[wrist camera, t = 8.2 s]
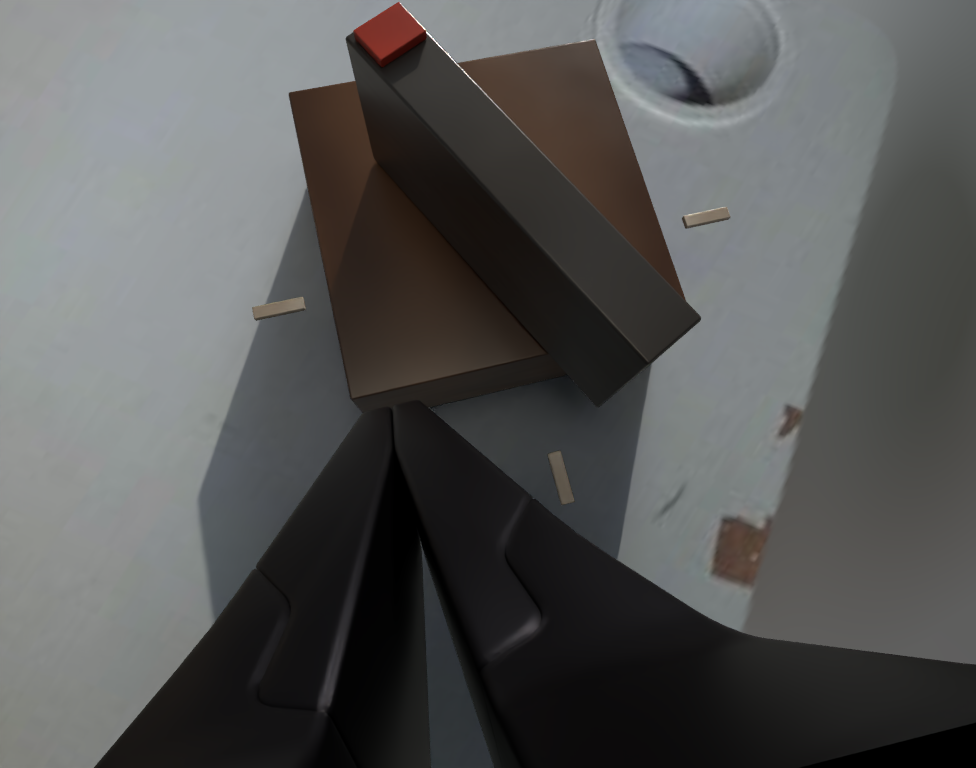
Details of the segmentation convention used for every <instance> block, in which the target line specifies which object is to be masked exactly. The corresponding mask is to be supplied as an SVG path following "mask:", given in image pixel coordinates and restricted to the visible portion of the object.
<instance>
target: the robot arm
mask: <svg viewBox="0 0 976 768" xmlns="http://www.w3.org/2000/svg"><path fill="white" fill-rule="evenodd" d="M420 540H421V543H422V547H423V550H424V554H425V557H426V561H427V564H428V567H429V570H430V573H431V576H432V579H433V582H434V585H435V588H436V591H437V594H438V597H439V600H440V603H441V606H442V610H443V613H444V616H445V619H446V622H447V625H448V628H449V631H450V634H451V637H452V640H453V643H454V646H455V649H456V652H457V655H458V658H459V661H460V664H461V667H462V670H463V674H464V677H465V680H466V683H467V686H468V689H469V692H470V695H471V698H472V701H473V704H474V707H475V710H476V713H477V716H478V719H479V722H480V725H481V728H482V731H483V734H484V738H485V741H486V744H487V747H488V750H489V753H490V756H491V759H492V762H493V765H494V768H976V665H974V664H963V663H955V662H948V661H940V660H932V659H923V658H915V657H907V656H900V655H893V654H885V653H877V652H869V651H860V650H853V649H845V648H837V647H829V646H822V645H814V644H805V643H798V642H790V641H783V640H774V639H766V638H761V637H755V636H752V635H748V634H745V633H742V632H739V631H737V630H734V629H731V628H729V627H726V626H724V625H722V624H720V623H718V622H716V621H714V620H712V619H710V618H708V617H706V616H705V615H703V614H701V613H699V612H698V611H696V610H694V609H693V608H691V607H690V606H688V605H686V604H685V603H683V602H682V601H680V600H679V599H677V598H676V597H674V596H672V595H671V594H669V593H668V592H666V591H665V590H663V589H661V588H660V587H658V586H657V585H655V584H654V583H652V582H651V581H649V580H647V579H646V578H644V577H643V576H641V575H640V574H638V573H637V572H635V571H633V570H632V569H630V568H629V567H627V566H626V565H624V564H622V563H621V562H619V561H618V560H616V559H615V558H613V557H612V556H610V555H608V554H607V553H606V552H604V551H603V550H601V549H600V548H598V547H597V546H595V545H594V544H592V543H591V542H589V541H588V540H586V539H585V538H583V537H582V536H581V535H579V534H578V533H576V532H575V531H574V530H572V529H571V528H570V527H569V526H567V525H566V524H565V523H564V522H562V521H561V520H560V519H558V518H557V517H556V516H555V515H553V514H552V513H551V512H550V511H549V510H548V509H546V508H545V507H544V506H543V505H542V504H541V503H539V502H538V501H537V500H536V499H533V498H532V496H531V495H530V494H529V493H527V492H526V491H525V490H524V489H523V488H521V487H520V486H519V485H518V484H517V483H516V482H514V481H513V480H512V479H511V478H510V477H509V476H507V475H506V474H505V473H504V472H503V471H502V470H500V469H499V468H498V467H497V466H496V465H495V464H493V463H492V462H491V461H490V460H489V459H488V458H486V457H485V456H484V455H483V454H482V453H481V452H479V451H478V450H477V449H476V448H475V447H473V446H472V445H471V444H470V443H469V442H468V441H466V440H465V439H464V438H463V437H462V436H461V435H459V434H458V433H457V432H456V431H455V430H454V429H452V428H451V427H450V426H449V425H448V424H447V423H445V422H444V421H443V420H442V419H441V418H440V417H438V416H437V415H436V414H435V413H434V412H432V411H431V410H430V409H429V408H428V407H427V406H425V405H424V404H423V403H422V402H421V401H419V400H412V401H408V402H404V403H400V404H396V405H394V406H393V408H392V409H391V408H390V407H382V408H378V409H374V410H369V411H366V412H364V413H363V414H362V415H361V416H360V418H359V419H358V421H357V422H356V423H355V425H354V426H353V428H352V429H351V431H350V432H349V433H348V435H347V436H346V438H345V439H344V441H343V442H342V443H341V445H340V446H339V448H338V449H337V451H336V452H335V453H334V455H333V456H332V458H331V459H330V461H329V462H328V463H327V465H326V466H325V468H324V469H323V471H322V472H321V473H320V475H319V476H318V478H317V479H316V481H315V482H314V483H313V485H312V486H311V488H310V489H309V491H308V492H307V493H306V495H305V496H304V498H303V499H302V501H301V502H300V503H299V505H298V506H297V508H296V509H295V511H294V512H293V513H292V515H291V516H290V518H289V519H288V521H287V522H286V523H285V525H284V526H283V528H282V529H281V531H280V532H279V533H278V535H277V536H276V538H275V539H274V541H273V542H272V543H271V545H270V546H269V548H268V549H267V551H266V552H265V553H264V555H263V556H262V558H261V559H260V561H259V562H258V563H257V565H256V568H257V569H254V570H252V572H251V573H250V574H249V576H248V577H247V579H246V580H245V582H244V583H243V584H242V586H241V587H240V589H239V590H238V592H237V593H236V594H235V596H234V597H233V598H232V600H231V601H230V602H229V604H228V605H227V606H226V608H225V609H224V611H223V612H222V613H221V615H220V616H219V617H218V619H217V620H216V621H215V623H214V624H213V625H212V627H211V628H210V629H209V631H208V632H207V633H206V634H205V635H204V637H203V638H202V639H201V640H200V642H199V643H198V644H197V645H196V647H195V648H194V649H193V650H192V652H191V653H190V654H189V655H188V656H187V658H186V659H185V660H184V661H183V663H182V664H181V665H180V666H179V668H178V669H177V670H176V671H175V672H174V674H173V675H172V676H171V677H170V678H169V679H168V681H167V682H166V683H165V684H164V685H163V687H162V688H161V689H160V690H159V691H158V692H157V694H156V695H155V696H154V697H153V698H152V700H151V701H150V702H149V703H148V704H147V705H146V707H145V708H144V709H143V710H142V711H141V713H140V714H139V715H138V716H137V717H136V718H135V720H134V721H133V722H132V723H131V724H130V726H129V727H128V728H127V729H126V730H125V732H124V733H123V734H122V735H121V736H120V737H119V739H118V740H117V741H116V742H115V743H114V745H113V746H112V747H111V748H110V749H109V750H108V752H107V753H106V754H105V755H104V756H103V758H102V759H101V760H100V761H99V762H98V763H97V765H96V766H95V767H94V768H431V758H430V734H429V711H428V687H427V663H426V640H425V616H424V592H423V569H422V552H421V543H420Z"/></svg>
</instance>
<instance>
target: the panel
mask: <svg viewBox="0 0 976 768" xmlns="http://www.w3.org/2000/svg"><path fill="white" fill-rule="evenodd" d="M458 64H459V66H460V67H461V68H462V69H463V70H464V71H465V72H466V73H467V74H468V75H469V76H470V77H471V78H472V79H473V80H474V81H475V82H476V83H477V84H478V85H479V86H480V87H481V88H482V89H483V91H484V92H485V93H486V94H487V95H488V96H489V97H490V98H491V99H492V100H493V101H494V102H495V103H496V104H497V105H498V106H499V107H500V108H501V109H502V110H503V111H504V112H505V113H506V114H507V116H508V117H509V118H510V119H511V120H512V121H513V122H514V123H515V124H516V125H517V126H518V127H519V128H520V129H521V130H522V131H523V132H524V133H525V134H526V135H527V136H528V137H529V138H530V139H531V141H532V142H533V143H534V144H535V145H536V146H537V147H538V148H539V149H540V150H541V151H542V152H543V153H544V154H545V155H546V156H547V157H548V158H549V159H550V160H551V161H552V162H553V163H554V164H555V166H556V167H557V168H558V169H559V170H560V171H561V172H562V173H563V174H564V175H565V176H566V177H567V178H568V179H569V180H570V181H571V182H572V183H573V184H574V185H575V186H576V187H577V188H578V189H579V190H580V192H581V193H582V194H583V195H584V196H585V197H586V198H587V199H588V200H589V201H590V202H591V203H592V204H593V205H594V206H595V207H596V208H597V209H598V210H599V211H600V212H601V213H602V214H603V215H604V217H605V218H606V219H607V220H608V221H609V222H610V223H611V224H612V225H613V226H614V227H615V228H616V229H617V230H618V231H619V232H620V233H621V234H622V235H623V236H624V237H625V238H626V239H627V240H628V242H629V243H630V244H631V245H632V246H633V247H634V248H635V249H636V250H637V251H638V252H639V253H640V254H641V255H642V256H643V257H644V258H645V259H646V260H647V261H648V262H649V263H650V264H651V265H652V267H653V268H654V269H655V270H656V271H657V272H658V273H659V274H660V275H661V276H662V277H663V278H664V279H665V280H666V281H667V282H668V283H669V284H670V285H671V286H672V287H673V288H674V289H675V290H676V291H677V293H678V294H679V295H680V296H681V297H682V298H683V299H684V300H685V297H684V294H683V291H682V288H681V285H680V282H679V279H678V277H677V274H676V271H675V268H674V265H673V262H672V259H671V256H670V254H669V251H668V248H667V245H666V242H665V239H664V236H663V233H662V231H661V228H660V225H659V222H658V219H657V216H656V213H655V210H654V208H653V205H652V202H651V199H650V196H649V193H648V190H647V187H646V185H645V182H644V179H643V176H642V173H641V170H640V167H639V164H638V161H637V159H636V156H635V153H634V150H633V147H632V144H631V141H630V138H629V136H628V133H627V130H626V127H625V124H624V121H623V118H622V115H621V113H620V110H619V107H618V104H617V101H616V98H615V95H614V92H613V90H612V87H611V84H610V81H609V78H608V75H607V72H606V69H605V67H604V64H603V61H602V58H601V55H600V52H599V49H598V46H597V44H596V41H595V39H592V40H586V41H580V42H574V43H569V44H563V45H557V46H552V47H546V48H540V49H535V50H529V51H523V52H517V53H512V54H506V55H500V56H495V57H489V58H483V59H478V60H472V61H466V62H460V63H458ZM289 99H290V104H291V109H292V114H293V119H294V124H295V129H296V133H297V138H298V143H299V148H300V153H301V158H302V163H303V168H304V173H305V178H306V183H307V188H308V192H309V197H310V202H311V207H312V212H313V217H314V222H315V227H316V232H317V237H318V242H319V246H320V251H321V256H322V261H323V266H324V271H325V276H326V281H327V286H328V291H329V296H330V301H331V305H332V310H333V315H334V320H335V325H336V330H337V335H338V340H339V345H340V350H341V355H342V360H343V364H344V369H345V374H346V379H347V384H348V389H349V394H350V398H351V400H352V401H353V402H354V403H355V404H356V406H357V407H358V408H359V409H360V410H361V411H362V412H363V413H364V412H366V411H369V410H374V409H378V408H382V407H390V408H391V409H392V408H393V406H394V405H396V404H400V403H404V402H408V401H412V400H419V401H421V402H422V403H423V404H424V405H425V406H427V407H428V408H429V407H434V406H438V405H442V404H446V403H450V402H455V401H459V400H463V399H467V398H472V397H476V396H480V395H484V394H489V393H493V392H497V391H501V390H506V389H510V388H514V387H518V386H522V385H527V384H531V383H535V382H539V381H544V380H548V379H552V378H556V377H561V376H565V375H567V374H566V373H565V371H564V370H563V369H562V368H561V367H560V366H559V365H558V364H557V362H556V361H555V360H554V359H553V358H552V357H551V356H550V355H549V354H548V352H547V351H546V350H545V349H544V348H543V347H542V346H541V345H540V343H539V342H538V341H537V340H536V339H535V338H534V337H533V336H532V335H531V333H530V332H529V331H528V330H527V329H526V328H525V327H524V326H523V325H522V323H521V322H520V321H519V320H518V319H517V318H516V317H515V316H514V314H513V313H512V312H511V311H510V310H509V309H508V308H507V307H506V306H505V304H504V303H503V302H502V301H501V300H500V299H499V298H498V297H497V295H496V294H495V293H494V292H493V291H492V290H491V289H490V288H489V287H488V285H487V284H486V283H485V282H484V281H483V280H482V279H481V278H480V276H479V275H478V274H477V273H476V272H475V271H474V270H473V269H472V268H471V266H470V265H469V264H468V263H467V262H466V261H465V260H464V259H463V258H462V256H461V255H460V254H459V253H458V252H457V251H456V250H455V249H454V247H453V246H452V245H451V244H450V243H449V242H448V241H447V240H446V239H445V237H444V236H443V235H442V234H441V233H440V232H439V231H438V230H437V228H436V227H435V226H434V225H433V224H432V223H431V222H430V221H429V220H428V218H427V217H426V216H425V215H424V214H423V213H422V212H421V211H420V210H419V208H418V207H417V206H416V205H415V204H414V203H413V202H412V201H411V199H410V198H409V197H408V196H407V195H406V194H405V193H404V192H403V191H402V189H401V188H400V187H399V186H398V185H397V184H396V183H395V182H394V180H393V179H392V178H391V177H390V176H389V175H388V174H387V173H386V172H385V170H384V169H383V168H382V167H381V166H380V165H379V164H378V163H377V161H376V160H375V159H374V157H373V153H372V149H371V145H370V141H369V136H368V132H367V128H366V124H365V119H364V115H363V111H362V107H361V102H360V98H359V94H358V90H357V85H356V81H352V82H347V83H341V84H335V85H329V86H324V87H318V88H312V89H307V90H301V91H295V92H290V93H289ZM729 218H730V214H729V212H728V209H727V207H724V208H719V209H714V210H710V211H705V212H700V213H695V214H691V215H686V216H683V218H682V220H683V223H684V226H685V228H686V229H687V228H691V227H696V226H701V225H705V224H710V223H715V222H719V221H724V220H728V219H729ZM685 301H686V300H685ZM252 309H253V315H254V319H255V320H256V321H257V320H262V319H266V318H271V317H276V316H280V315H285V314H290V313H294V312H299V311H304V310H306V307H305V302H304V298H303V297H299V298H294V299H289V300H284V301H280V302H275V303H270V304H265V305H261V306H256V307H252ZM547 456H548V459H549V463H550V467H551V470H552V474H553V478H554V481H555V485H556V489H557V492H558V496H559V499H560V503H561V505H565V504H569V503H573V502H575V500H574V497H573V493H572V489H571V486H570V482H569V479H568V475H567V472H566V468H565V464H564V461H563V457H562V454H561V451H556V452H552V453H548V454H547Z"/></svg>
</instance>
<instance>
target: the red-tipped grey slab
mask: <svg viewBox="0 0 976 768" xmlns="http://www.w3.org/2000/svg"><path fill="white" fill-rule="evenodd" d="M346 43H347V47H348V51H349V56H350V60H351V64H352V68H353V73H354V77H355V81H356V85H357V90H358V94H359V98H360V102H361V107H362V111H363V115H364V119H365V124H366V128H367V132H368V136H369V141H370V145H371V149H372V153H373V157H374V159H375V160H376V161H377V163H378V164H379V165H380V166H381V167H382V168H383V169H384V170H385V172H386V173H387V174H388V175H389V176H390V177H391V178H392V179H393V180H394V182H395V183H396V184H397V185H398V186H399V187H400V188H401V189H402V191H403V192H404V193H405V194H406V195H407V196H408V197H409V198H410V199H411V201H412V202H413V203H414V204H415V205H416V206H417V207H418V208H419V210H420V211H421V212H422V213H423V214H424V215H425V216H426V217H427V218H428V220H429V221H430V222H431V223H432V224H433V225H434V226H435V227H436V228H437V230H438V231H439V232H440V233H441V234H442V235H443V236H444V237H445V239H446V240H447V241H448V242H449V243H450V244H451V245H452V246H453V247H454V249H455V250H456V251H457V252H458V253H459V254H460V255H461V256H462V258H463V259H464V260H465V261H466V262H467V263H468V264H469V265H470V266H471V268H472V269H473V270H474V271H475V272H476V273H477V274H478V275H479V276H480V278H481V279H482V280H483V281H484V282H485V283H486V284H487V285H488V287H489V288H490V289H491V290H492V291H493V292H494V293H495V294H496V295H497V297H498V298H499V299H500V300H501V301H502V302H503V303H504V304H505V306H506V307H507V308H508V309H509V310H510V311H511V312H512V313H513V314H514V316H515V317H516V318H517V319H518V320H519V321H520V322H521V323H522V325H523V326H524V327H525V328H526V329H527V330H528V331H529V332H530V333H531V335H532V336H533V337H534V338H535V339H536V340H537V341H538V342H539V343H540V345H541V346H542V347H543V348H544V349H545V350H546V351H547V352H548V354H549V355H550V356H551V357H552V358H553V359H554V360H555V361H556V362H557V364H558V365H559V366H560V367H561V368H562V369H563V370H564V371H565V373H566V374H567V375H568V376H569V377H570V378H571V379H572V380H573V381H574V383H575V384H576V385H577V386H578V387H579V388H580V389H581V390H582V391H583V393H584V394H585V395H586V396H587V397H588V398H589V399H590V400H591V402H592V403H593V404H594V405H595V406H596V407H600V406H601V405H602V404H603V403H605V402H606V401H607V400H608V399H609V398H611V397H612V396H613V395H614V394H615V393H617V392H618V391H619V390H620V389H621V388H623V387H624V386H625V385H626V384H627V383H629V382H630V381H631V380H632V379H633V378H635V377H636V376H637V375H638V374H639V373H641V372H642V371H643V370H644V369H645V368H646V367H648V366H649V365H650V364H651V363H652V362H654V361H655V360H656V359H657V358H658V357H659V356H660V355H662V354H663V353H664V352H665V351H666V350H667V349H669V348H670V347H671V346H672V345H673V344H674V343H675V342H677V341H678V340H679V339H680V338H681V337H682V336H683V335H685V334H686V333H687V332H688V331H689V330H690V329H692V328H693V327H694V326H695V325H696V324H697V323H698V322H700V320H701V317H700V315H699V314H698V313H697V312H696V311H695V310H694V309H693V308H692V307H691V306H690V305H689V304H688V303H687V302H686V301H685V300H684V299H683V298H682V297H681V296H680V295H679V294H678V293H677V291H676V290H675V289H674V288H673V287H672V286H671V285H670V284H669V283H668V282H667V281H666V280H665V279H664V278H663V277H662V276H661V275H660V274H659V273H658V272H657V271H656V270H655V269H654V268H653V267H652V265H651V264H650V263H649V262H648V261H647V260H646V259H645V258H644V257H643V256H642V255H641V254H640V253H639V252H638V251H637V250H636V249H635V248H634V247H633V246H632V245H631V244H630V243H629V242H628V240H627V239H626V238H625V237H624V236H623V235H622V234H621V233H620V232H619V231H618V230H617V229H616V228H615V227H614V226H613V225H612V224H611V223H610V222H609V221H608V220H607V219H606V218H605V217H604V215H603V214H602V213H601V212H600V211H599V210H598V209H597V208H596V207H595V206H594V205H593V204H592V203H591V202H590V201H589V200H588V199H587V198H586V197H585V196H584V195H583V194H582V193H581V192H580V190H579V189H578V188H577V187H576V186H575V185H574V184H573V183H572V182H571V181H570V180H569V179H568V178H567V177H566V176H565V175H564V174H563V173H562V172H561V171H560V170H559V169H558V168H557V167H556V166H555V164H554V163H553V162H552V161H551V160H550V159H549V158H548V157H547V156H546V155H545V154H544V153H543V152H542V151H541V150H540V149H539V148H538V147H537V146H536V145H535V144H534V143H533V142H532V141H531V139H530V138H529V137H528V136H527V135H526V134H525V133H524V132H523V131H522V130H521V129H520V128H519V127H518V126H517V125H516V124H515V123H514V122H513V121H512V120H511V119H510V118H509V117H508V116H507V114H506V113H505V112H504V111H503V110H502V109H501V108H500V107H499V106H498V105H497V104H496V103H495V102H494V101H493V100H492V99H491V98H490V97H489V96H488V95H487V94H486V93H485V92H484V91H483V89H482V88H481V87H480V86H479V85H478V84H477V83H476V82H475V81H474V80H473V79H472V78H471V77H470V76H469V75H468V74H467V73H466V72H465V71H464V70H463V69H462V68H461V67H460V66H459V64H458V63H457V62H456V61H455V60H454V59H453V58H452V57H451V56H450V55H449V54H448V53H447V52H446V51H445V50H444V49H443V48H442V47H441V46H440V45H439V44H438V43H437V42H436V41H435V40H434V38H433V37H432V36H431V35H430V34H429V33H428V32H427V31H426V30H425V29H424V27H423V26H422V25H421V24H420V23H419V22H418V21H417V20H416V19H415V18H414V17H413V16H412V15H411V14H410V13H409V12H408V11H407V10H406V9H405V8H404V7H403V6H402V5H401V4H400V2H398V3H396V4H395V5H393V6H391V7H390V8H388V9H387V10H385V11H383V12H382V13H380V14H379V15H377V16H376V17H374V18H372V19H371V20H369V21H368V22H366V23H364V24H363V25H361V26H360V27H358V28H357V29H355V30H354V31H353V33H352V34H350V35H348V36H347V37H346Z"/></svg>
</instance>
